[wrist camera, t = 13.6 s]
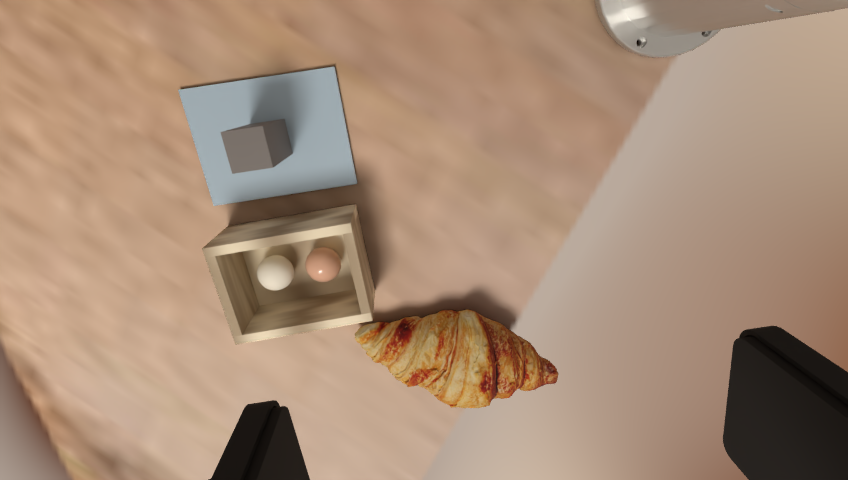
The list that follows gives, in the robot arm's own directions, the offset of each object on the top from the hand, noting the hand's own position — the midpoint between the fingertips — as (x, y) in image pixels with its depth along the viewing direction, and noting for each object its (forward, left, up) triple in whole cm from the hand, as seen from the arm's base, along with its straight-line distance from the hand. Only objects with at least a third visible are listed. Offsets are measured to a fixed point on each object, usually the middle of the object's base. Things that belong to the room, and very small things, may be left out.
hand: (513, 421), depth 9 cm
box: (+13, +7, -33) cm, 36 cm away
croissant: (-1, +20, -34) cm, 39 cm away
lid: (+12, -4, -34) cm, 36 cm away
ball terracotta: (+10, +7, -33) cm, 35 cm away
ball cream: (+15, +7, -33) cm, 37 cm away
